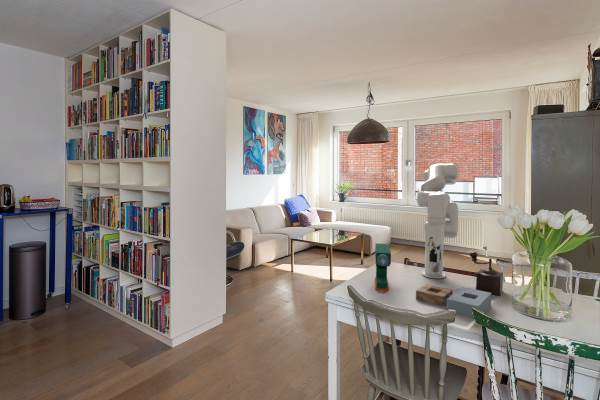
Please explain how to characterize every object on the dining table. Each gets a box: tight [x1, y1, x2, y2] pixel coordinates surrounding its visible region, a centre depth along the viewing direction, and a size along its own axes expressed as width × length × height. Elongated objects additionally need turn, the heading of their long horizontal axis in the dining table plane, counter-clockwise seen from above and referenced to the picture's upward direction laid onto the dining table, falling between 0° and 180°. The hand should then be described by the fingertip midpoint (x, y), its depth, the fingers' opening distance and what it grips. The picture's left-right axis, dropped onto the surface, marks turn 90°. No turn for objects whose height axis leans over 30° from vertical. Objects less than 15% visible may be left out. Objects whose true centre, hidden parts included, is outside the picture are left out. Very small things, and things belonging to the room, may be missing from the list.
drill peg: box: [431, 248, 440, 272], centre depth 156 cm, size 4×4×10 cm
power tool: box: [374, 242, 392, 292], centre depth 173 cm, size 32×7×20 cm, turn 168°
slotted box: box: [446, 286, 492, 318], centre depth 147 cm, size 20×12×6 cm, turn 138°
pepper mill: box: [469, 251, 504, 297], centre depth 170 cm, size 16×11×18 cm
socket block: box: [415, 283, 454, 307], centre depth 157 cm, size 12×12×5 cm
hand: (435, 260), depth 156 cm, fingers closed on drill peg, 3 cm apart
